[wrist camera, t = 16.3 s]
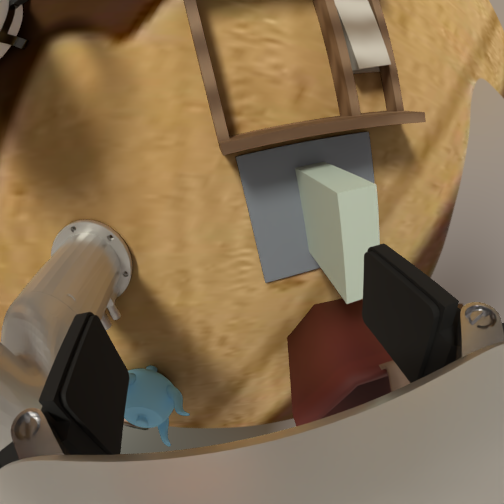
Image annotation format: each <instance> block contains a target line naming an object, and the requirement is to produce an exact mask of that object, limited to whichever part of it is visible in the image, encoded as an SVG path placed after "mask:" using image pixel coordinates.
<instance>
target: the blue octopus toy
mask: <svg viewBox="0 0 504 504" xmlns="http://www.w3.org/2000/svg"><path fill="white" fill-rule="evenodd" d="M128 373H129V385H128V392H127V399H126V406H125V414H124V418H125V419H126V420H127V421H128V422H130V423H131V424H133V425H136V426H139V427H144V428H151V427H156V426H158V430H159V433H160V436H161V439H162V441H163V443H164V444H165V445H167V446H170V445H171V444H170V442H169V440H168V434H167V433H168V426H169V418H168V417H169V415H170V414H171V413H172V411H173V409H174V408H175V411H176V412H177V413H178V414H179V415H183V416H189V415H190V414H189V413H187V412H185V411H184V410H183V406H182V405H183V397H182V394H181V392H180V391H179V390H178V389H177V388H176V387H174V385H173V384H172V383H171V382H170V381H169V380H168V379H167V378H166V377H164V376H163V375H162V374H160V373H158V372H157V368H156V367H155V366H151V365H150V366H147V367H146V369H143V368H138V369H132V370H128Z"/></svg>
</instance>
